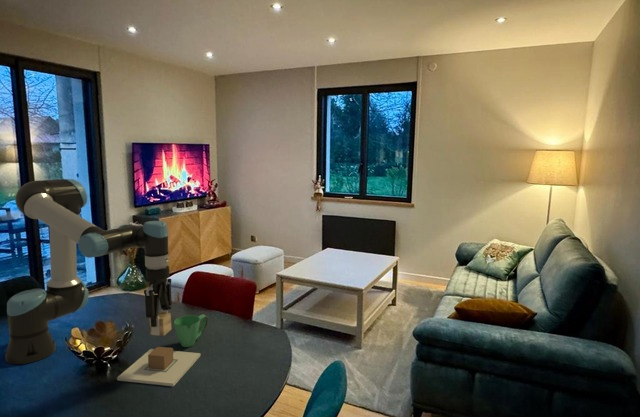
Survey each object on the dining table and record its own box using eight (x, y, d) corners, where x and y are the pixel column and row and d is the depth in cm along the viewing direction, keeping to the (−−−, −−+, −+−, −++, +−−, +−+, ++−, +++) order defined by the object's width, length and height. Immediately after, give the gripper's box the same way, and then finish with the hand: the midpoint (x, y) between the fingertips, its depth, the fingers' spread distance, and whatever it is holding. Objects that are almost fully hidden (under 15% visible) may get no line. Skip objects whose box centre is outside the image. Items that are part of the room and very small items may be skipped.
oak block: (150, 334, 136) (149, 318, 135) (158, 328, 141) (157, 312, 140) (164, 335, 135) (162, 319, 135) (171, 329, 140) (170, 313, 139)
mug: (186, 352, 151) (185, 327, 149) (169, 345, 156) (168, 321, 154) (214, 337, 163) (214, 314, 162) (198, 332, 168) (197, 309, 167)
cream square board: (117, 380, 132) (116, 363, 131) (151, 351, 151) (150, 336, 151) (173, 386, 129) (172, 369, 128) (200, 355, 149) (200, 340, 148)
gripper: (152, 274, 126) (156, 343, 129) (180, 260, 143) (182, 321, 146) (131, 273, 127) (134, 342, 130) (161, 259, 144) (164, 319, 148)
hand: (160, 330), depth 138 cm, fingers closed on oak block, 5 cm apart
